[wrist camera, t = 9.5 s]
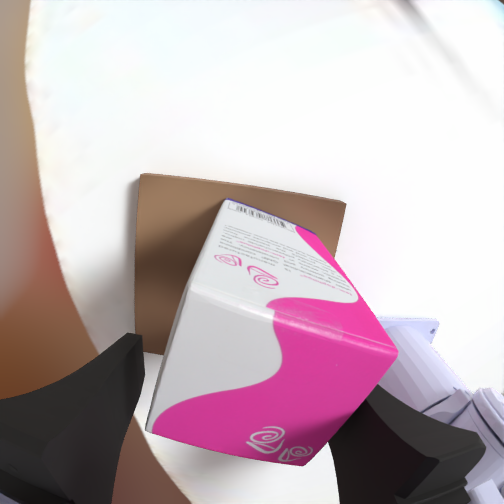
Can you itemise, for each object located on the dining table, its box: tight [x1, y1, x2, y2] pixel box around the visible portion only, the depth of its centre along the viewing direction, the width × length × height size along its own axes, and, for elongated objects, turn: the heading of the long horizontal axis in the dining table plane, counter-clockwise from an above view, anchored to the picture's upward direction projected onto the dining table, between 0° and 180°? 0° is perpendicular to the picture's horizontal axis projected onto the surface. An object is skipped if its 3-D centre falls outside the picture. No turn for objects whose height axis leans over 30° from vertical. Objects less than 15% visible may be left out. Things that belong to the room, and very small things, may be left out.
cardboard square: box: [135, 173, 346, 355], centre depth 20 cm, size 12×12×2 cm
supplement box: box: [145, 198, 399, 466], centre depth 13 cm, size 6×6×12 cm
